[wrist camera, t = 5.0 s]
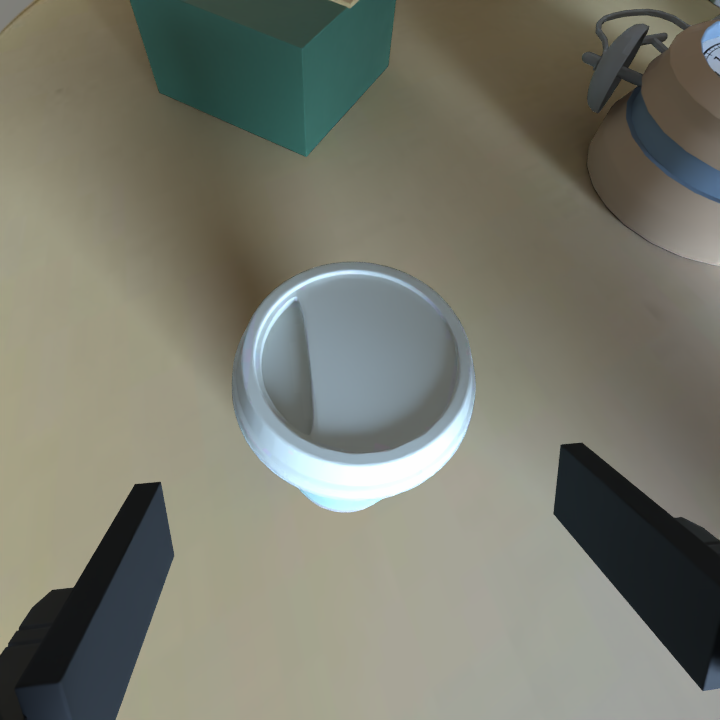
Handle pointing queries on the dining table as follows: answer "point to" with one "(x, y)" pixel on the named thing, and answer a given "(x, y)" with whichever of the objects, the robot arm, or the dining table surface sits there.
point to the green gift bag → (716, 2)
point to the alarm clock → (661, 135)
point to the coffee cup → (353, 383)
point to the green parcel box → (268, 60)
